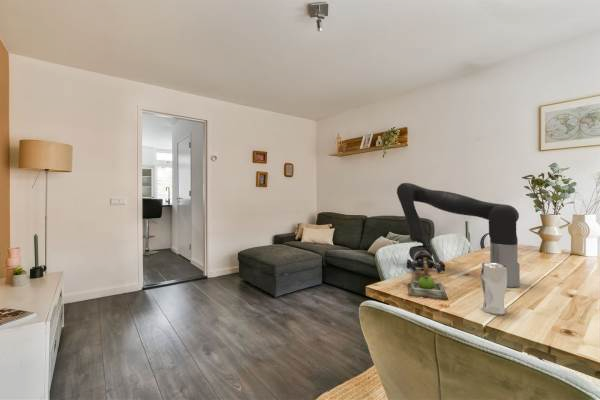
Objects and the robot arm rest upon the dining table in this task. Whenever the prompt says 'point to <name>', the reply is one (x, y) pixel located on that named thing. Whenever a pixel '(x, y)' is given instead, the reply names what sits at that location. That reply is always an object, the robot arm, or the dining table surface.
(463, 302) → the dining table surface
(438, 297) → the grey shallow tray
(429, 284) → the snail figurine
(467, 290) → the dining table surface
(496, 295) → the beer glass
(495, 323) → the dining table surface
